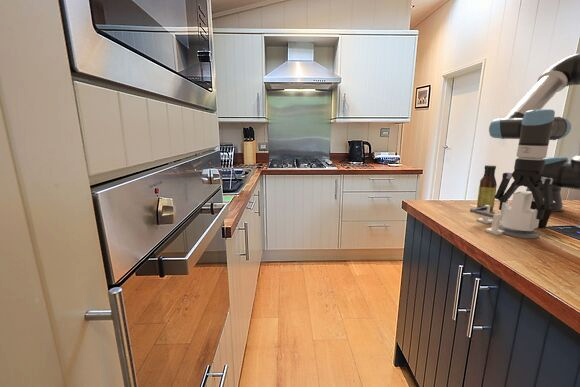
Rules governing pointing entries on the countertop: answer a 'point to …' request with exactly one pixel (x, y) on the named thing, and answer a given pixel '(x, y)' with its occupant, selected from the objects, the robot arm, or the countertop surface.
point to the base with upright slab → (519, 212)
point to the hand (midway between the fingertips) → (517, 223)
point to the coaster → (519, 233)
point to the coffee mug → (547, 214)
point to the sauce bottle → (487, 188)
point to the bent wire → (479, 211)
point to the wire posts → (495, 222)
